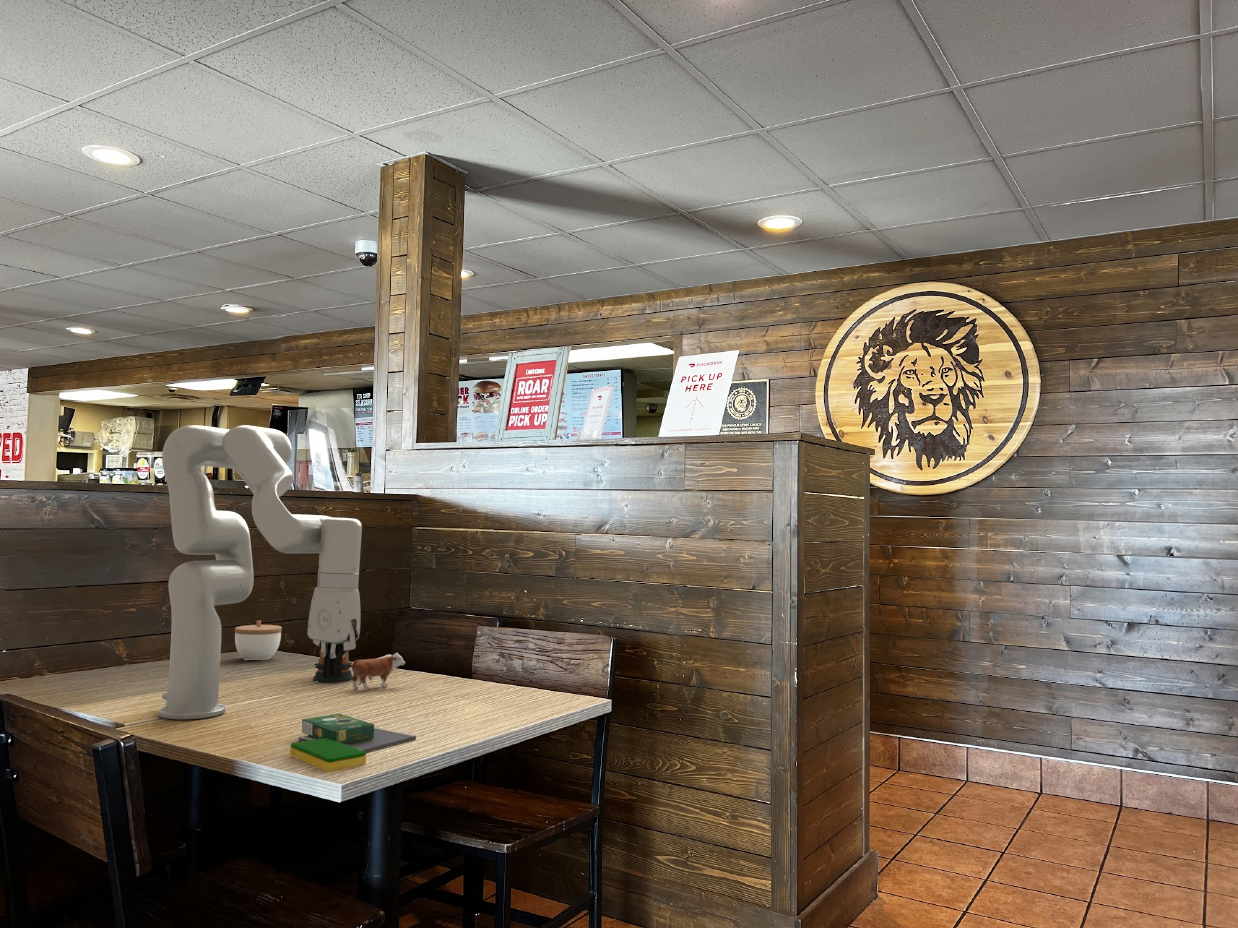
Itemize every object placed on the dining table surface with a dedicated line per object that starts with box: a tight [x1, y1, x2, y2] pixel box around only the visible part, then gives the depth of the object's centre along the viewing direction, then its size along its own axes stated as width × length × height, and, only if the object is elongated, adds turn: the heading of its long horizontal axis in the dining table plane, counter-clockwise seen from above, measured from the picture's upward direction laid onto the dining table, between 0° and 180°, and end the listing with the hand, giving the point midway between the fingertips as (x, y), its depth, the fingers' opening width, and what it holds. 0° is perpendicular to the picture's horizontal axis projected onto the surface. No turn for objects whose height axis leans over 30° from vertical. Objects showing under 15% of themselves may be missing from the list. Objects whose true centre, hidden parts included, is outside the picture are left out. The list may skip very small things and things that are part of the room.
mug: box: [313, 645, 354, 684], centre depth 228 cm, size 13×10×12 cm
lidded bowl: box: [234, 620, 283, 661], centre depth 257 cm, size 13×13×11 cm
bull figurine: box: [351, 652, 406, 691], centre depth 218 cm, size 4×13×8 cm, turn 127°
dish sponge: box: [289, 738, 367, 772], centre depth 152 cm, size 7×14×2 cm, turn 46°
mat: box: [297, 726, 417, 753], centre depth 166 cm, size 16×14×1 cm
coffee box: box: [301, 713, 375, 744], centre depth 165 cm, size 8×3×13 cm
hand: (331, 677), depth 170 cm, fingers closed
